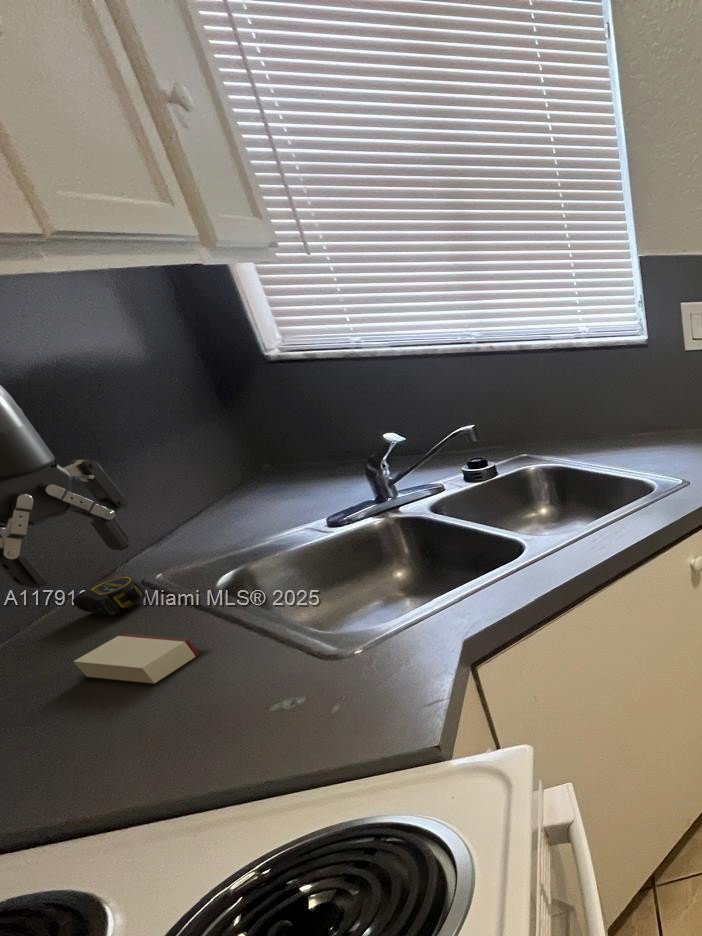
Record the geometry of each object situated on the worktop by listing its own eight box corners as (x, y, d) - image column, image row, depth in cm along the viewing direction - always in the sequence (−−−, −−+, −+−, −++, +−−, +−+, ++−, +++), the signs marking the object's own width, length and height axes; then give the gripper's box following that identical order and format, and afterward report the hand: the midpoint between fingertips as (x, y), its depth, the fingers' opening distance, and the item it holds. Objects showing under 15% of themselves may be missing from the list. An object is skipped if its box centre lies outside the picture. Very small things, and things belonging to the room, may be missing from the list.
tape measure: (81, 616, 94) (64, 595, 92) (134, 592, 100) (119, 572, 98) (109, 623, 92) (91, 602, 90) (161, 598, 97) (146, 578, 95)
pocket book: (86, 676, 82) (72, 661, 80) (134, 648, 86) (122, 633, 85) (154, 683, 80) (141, 667, 78) (199, 654, 85) (188, 639, 83)
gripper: (28, 406, 70) (120, 536, 79) (-154, 451, 58) (-22, 598, 67) (82, 407, 68) (169, 539, 77) (-93, 453, 57) (34, 602, 66)
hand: (80, 566), depth 72 cm, fingers open, 8 cm apart
